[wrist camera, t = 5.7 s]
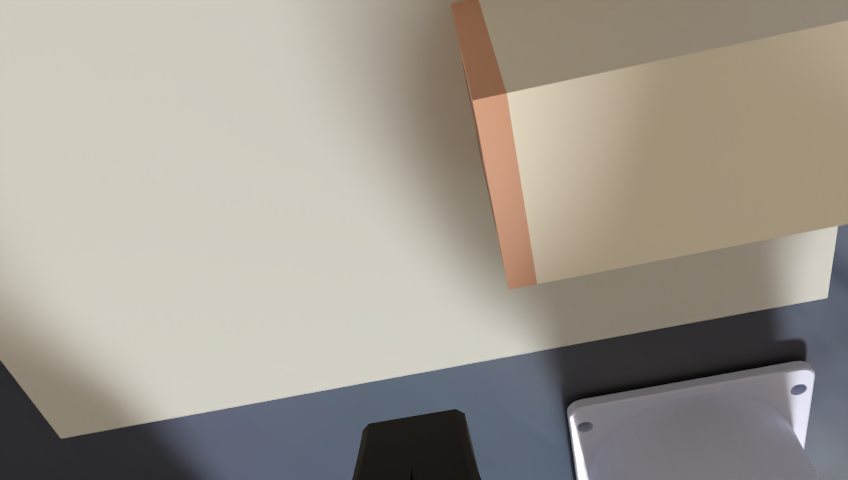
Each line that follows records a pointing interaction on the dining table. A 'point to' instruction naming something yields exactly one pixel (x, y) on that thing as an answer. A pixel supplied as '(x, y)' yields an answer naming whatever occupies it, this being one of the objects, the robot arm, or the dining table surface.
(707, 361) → the dining table surface
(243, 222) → the mat
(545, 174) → the block
